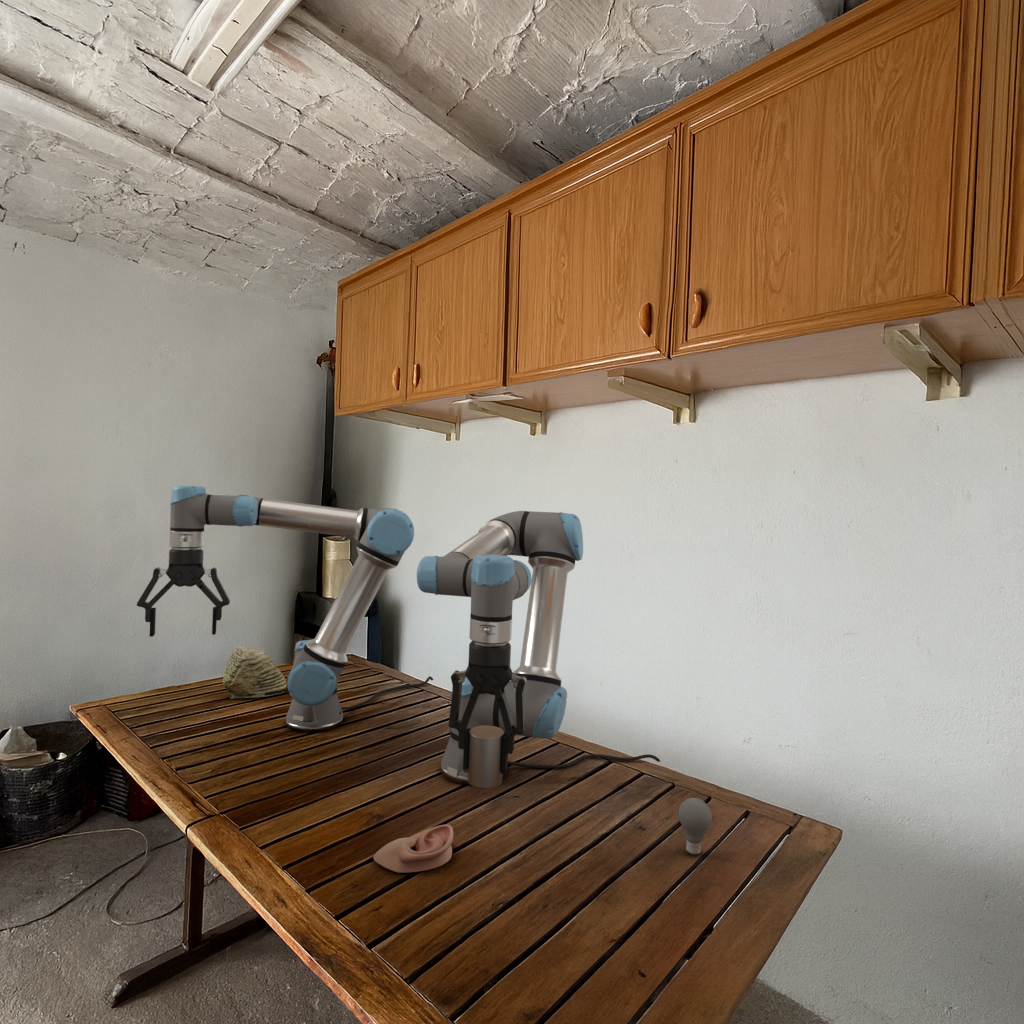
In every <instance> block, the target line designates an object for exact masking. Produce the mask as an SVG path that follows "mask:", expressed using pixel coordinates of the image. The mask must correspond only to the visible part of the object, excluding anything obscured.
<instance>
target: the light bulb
mask: <svg viewBox="0 0 1024 1024" xmlns="http://www.w3.org/2000/svg"><path fill="white" fill-rule="evenodd" d="M677 815H678V820H679V822H680V824H681V827H682V829H683V832H684V837H685V841H686V842H685V843H686V845H685V850H686V851H687V852H688V853H690V854H691V855H698V854H700V853H701V850H702V849H701V848H702V847H701V845H702V842H703V840H704V837H705V834H706V832H707V831H708V830H709V828H710V826H711V824H712V822H713V821H712V820H713V815H712V810H711V809H710V807H709V805H708V804H707V803H706V802H705V801H704V800H702V799H700V798H697V797H689V798H687V799H685V800H684V801H683V802H682V803H681V804H680V806H679V807H678V814H677Z"/></svg>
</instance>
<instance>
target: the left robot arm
mask: <svg viewBox="0 0 1024 1024" xmlns="http://www.w3.org/2000/svg"><path fill="white" fill-rule="evenodd" d="M169 505H170V518H169V520H170V523H169V524H170V526H169V527H170V528H169V547H170V549H169V551H168V567H167V568H161V567H159V566H157V567H155V568H154V569H153V571H152V572H153V573H152V576H151V579H150V581H149V582H148V584H147V586H146V587H145V589H144V591H143V593H142V594H141V595H140V596H139V597H140V598H139V599H138V601H136V606H137V607H139V608H143V609H144V611H145V612H144V615H145V616H144V621H145V623H149V637H150V638H151V637H154V636H155V635H156V620H157V619H156V614H157V607H153V606H155V604H156V603H157V602H158V601H159V600H160V599H161V598H162V597H163V596H164V595H165V594H166V593H167V592H168V591H169V590H170V589H171V588H172V587H173V586H176V587H178V588H181V587H188V588H189V587H194V586H196V587H197V588H198V589H199V590H200V591H201V592H202V593H203V594H204V595H205V596H206V597H207V598H208V599H209V601H210V602H211V603H212V604H213V605H214V606H213V607H212V621H211V635H213V636H215V635H216V634H217V624H218V623H217V622H218V621H221V620H222V616H223V607H226V606H228V605H230V604H231V600H230V597H229V596H228V594H227V592H226V589H225V588H224V586H223V584H222V582H221V580H220V578H219V577H218V568H217V567H212V568H205V567H204V550H203V549H202V548H203V547H204V546H205V526H206V525H207V526H211V525H212V526H228V527H229V526H231V527H241V528H242V527H252V526H260V527H267V528H268V527H269V528H276V529H284V530H293V531H299V532H306V533H314V534H315V533H316V534H322V535H331V536H338V537H345V538H354V540H355V541H356V542H357V543H358V544H357V545H356V550H357V554H358V556H357V558H356V560H355V561H354V564H353V565H352V567H351V569H350V571H349V573H348V575H347V577H346V579H345V581H344V583H343V584H342V586H341V588H340V590H339V592H338V594H337V596H336V597H335V599H334V602H333V604H332V605H331V607H330V609H329V611H328V612H327V614H326V617H325V619H324V621H323V623H322V624H321V626H320V628H319V630H318V632H317V633H316V636H315V637H314V638H313V639H303V640H299V641H297V642H296V643H295V648H294V650H293V651H294V663H293V665H292V667H291V670H290V671H289V673H288V675H287V680H286V685H287V690H288V693H289V695H290V698H292V699H291V702H290V704H289V708H288V711H287V713H286V715H285V726H286V728H287V729H289V730H291V731H294V732H295V731H296V732H301V733H316V732H325V731H329V730H332V729H335V728H337V727H339V726H340V725H342V723H343V722H344V714H343V711H348V710H353V709H356V708H360V707H362V706H365V705H366V704H368V703H371V701H374V699H376V698H377V697H379V696H380V695H382V694H384V693H388V692H392V691H397V690H402V689H407V688H408V689H409V688H416V687H421V686H425V685H426V684H427V683H428V682H429V681H434V678H433V676H428V677H427V678H426V679H425V681H423V682H420V683H413V684H412V683H411V684H404V685H398V686H394V687H389V688H385V689H383V690H380V691H377V692H376V693H374V694H373V695H372V696H371V697H370V698H368V699H366V700H363V701H361V702H359V703H356V704H353V705H349V706H341V702H340V699H339V695H338V682H339V681H338V680H339V678H340V677H341V675H342V673H343V671H344V669H345V667H346V665H347V663H348V661H349V660H348V657H347V656H348V655H347V653H346V652H347V650H348V649H349V646H350V644H351V642H352V641H353V639H354V637H355V635H356V633H357V631H358V630H359V627H360V625H361V623H362V622H363V619H364V618H365V616H366V614H367V612H368V610H369V609H370V606H371V604H372V602H373V601H374V599H375V597H376V595H377V593H378V592H379V589H380V587H381V585H382V584H383V581H384V579H385V578H386V576H387V574H388V572H389V571H390V570H392V569H395V568H397V567H398V565H399V564H400V562H401V560H402V558H403V557H404V554H405V552H406V551H408V549H409V548H410V547H411V546H412V544H413V541H414V539H415V538H414V537H415V526H414V523H413V521H412V519H411V518H410V517H409V516H408V514H406V513H405V512H403V511H402V510H400V509H397V508H391V507H388V508H367V507H361V508H360V509H358V510H355V509H347V508H341V507H340V508H339V507H333V506H325V505H317V504H310V503H301V502H296V501H295V502H294V501H286V500H280V499H273V498H265V497H264V498H263V497H259V496H258V497H257V496H250V495H246V494H237V495H229V494H208V493H207V490H206V487H205V486H202V485H201V486H199V485H198V486H197V485H180V484H179V485H175V486H173V487H172V489H171V497H170V503H169ZM164 575H166V576H167V577H168V579H169V581H168V582H167V583H166V584H165V585H164V586H163V587H162V588H161V589H160V590H159V591H158V592H157V593H156V594H155V595H154V596H153V597H152V598H151V599H150V600H149V601H147V600H148V598H149V596H150V594H151V593H152V591H153V589H154V588H155V587H156V584H157V583H158V581H159V579H160V578H162V577H164ZM204 575H207V577H208V578H211V581H212V583H213V585H214V587H215V589H216V591H217V592H218V594H219V596H220V599H221V600H220V599H219V598H218V597H217V595H215V594H214V592H213V591H212V590H211V589H210V588H209V587H208V586H207V584H206V583H205V582H204V581H203V580H202V578H203V577H204Z"/></svg>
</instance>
